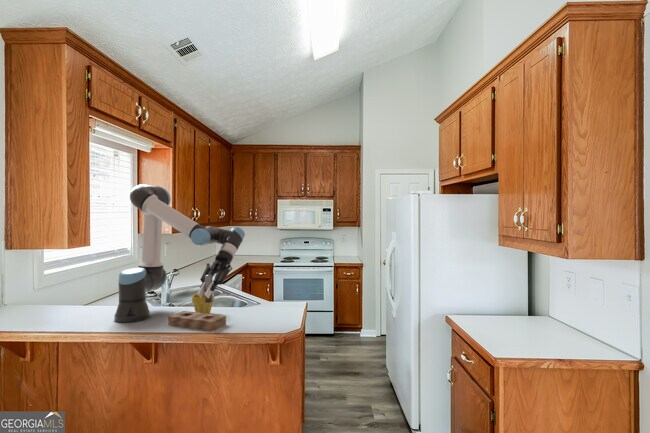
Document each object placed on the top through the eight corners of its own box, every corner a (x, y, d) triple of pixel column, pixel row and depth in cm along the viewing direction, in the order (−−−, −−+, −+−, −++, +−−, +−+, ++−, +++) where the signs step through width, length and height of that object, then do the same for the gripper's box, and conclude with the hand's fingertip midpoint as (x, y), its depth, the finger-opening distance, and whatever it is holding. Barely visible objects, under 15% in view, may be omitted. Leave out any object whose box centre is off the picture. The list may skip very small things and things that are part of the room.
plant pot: (207, 318, 179) (207, 297, 179) (187, 316, 181) (187, 296, 181) (217, 312, 189) (217, 293, 189) (199, 311, 191) (199, 292, 191)
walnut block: (168, 324, 168) (168, 316, 168) (184, 319, 177) (184, 310, 177) (211, 331, 159) (211, 321, 159) (225, 324, 168) (226, 315, 168)
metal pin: (203, 302, 165) (203, 275, 165) (208, 300, 168) (208, 274, 168) (209, 303, 164) (209, 275, 164) (213, 301, 167) (213, 274, 167)
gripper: (243, 260, 177) (222, 302, 162) (215, 258, 183) (192, 299, 167) (237, 250, 172) (214, 292, 157) (208, 249, 178) (183, 290, 162)
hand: (203, 296), depth 162 cm, fingers closed on metal pin, 3 cm apart
